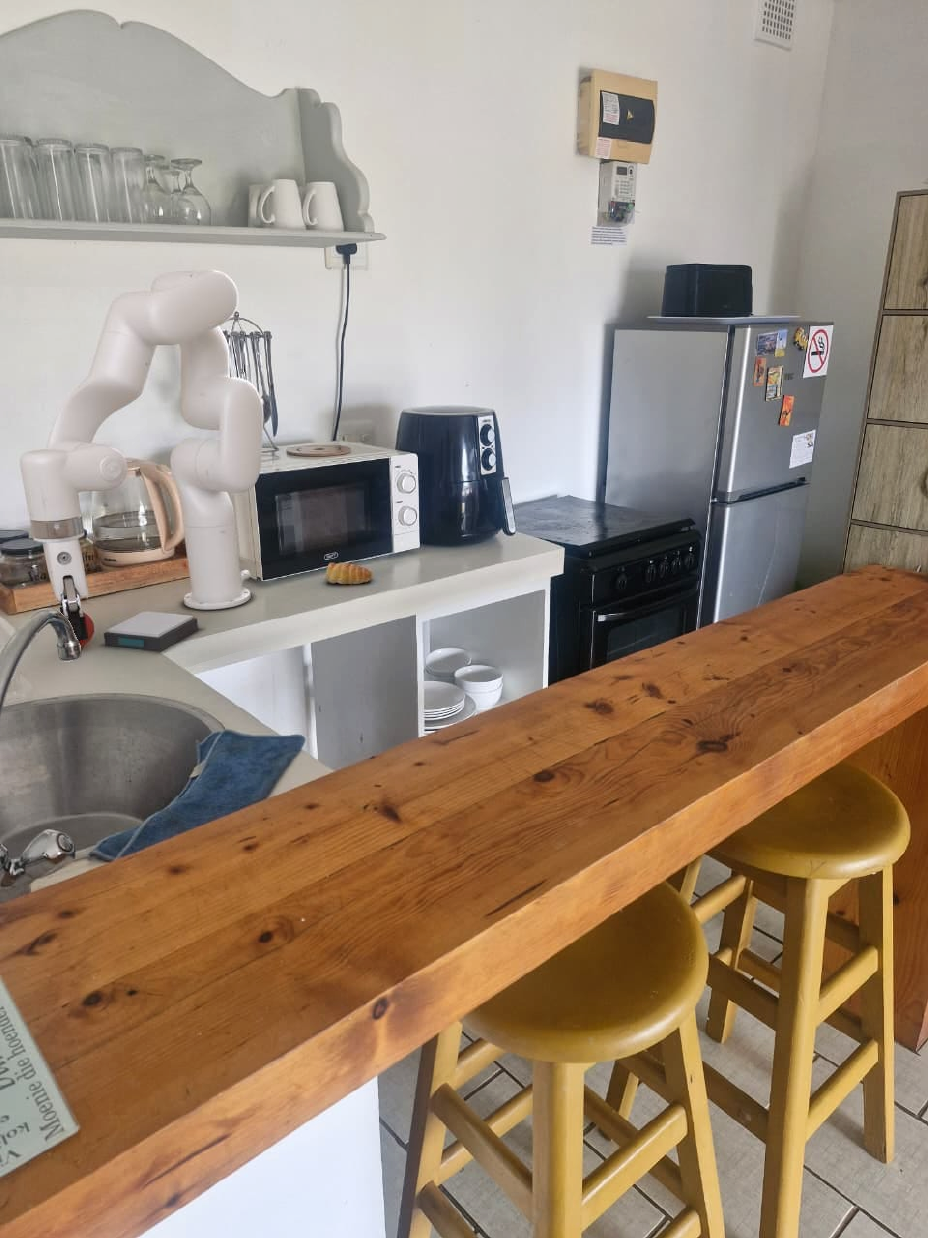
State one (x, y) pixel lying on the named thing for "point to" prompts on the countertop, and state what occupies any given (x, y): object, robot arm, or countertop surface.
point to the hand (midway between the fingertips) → (75, 633)
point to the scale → (151, 631)
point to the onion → (89, 630)
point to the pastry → (347, 573)
